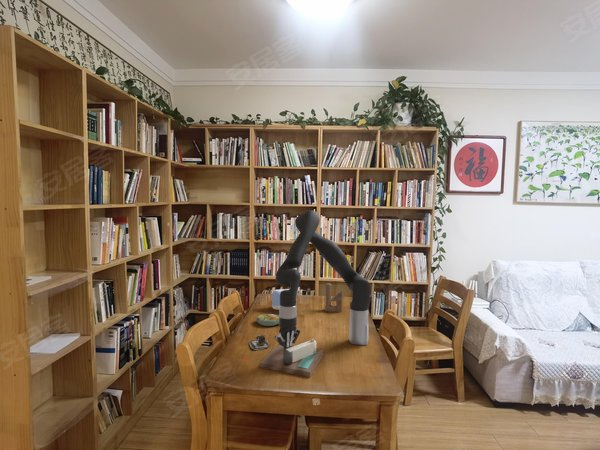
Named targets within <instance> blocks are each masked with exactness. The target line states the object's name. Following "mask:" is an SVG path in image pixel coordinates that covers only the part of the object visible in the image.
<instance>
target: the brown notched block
mask: <svg viewBox="0 0 600 450" xmlns="http://www.w3.org/2000/svg"><path fill="white" fill-rule="evenodd" d="M332 302H336V303H335V305H334V304H332ZM324 311H325V312H331V313H333V312H334V313H342V312H343V289H341V290H340V291H339V292H338V293H336V294H335V295H334V296H333V297H332V284H331V283H330V282H329V283H325V307H324Z"/></svg>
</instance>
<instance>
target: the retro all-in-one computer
mask: <svg viewBox="0 0 600 450" xmlns="http://www.w3.org/2000/svg"><path fill="white" fill-rule="evenodd" d="M289 289H290V288H285V289H284V288H282V289H274V290H273V292H272V302H271V303H272V304H271V307H272V309H273V310H276V311H279V308H280V293H281V291H283V290H289Z"/></svg>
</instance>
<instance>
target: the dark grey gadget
mask: <svg viewBox="0 0 600 450" xmlns="http://www.w3.org/2000/svg"><path fill="white" fill-rule="evenodd" d="M249 346H250V348H251V349H252V350H254V351H259V350H260V351H261V350H264V349H267V348H269V347H270V342H269V340H268V339H266V336H265V334H257V335H255V339H253V340H250V341H249Z"/></svg>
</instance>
